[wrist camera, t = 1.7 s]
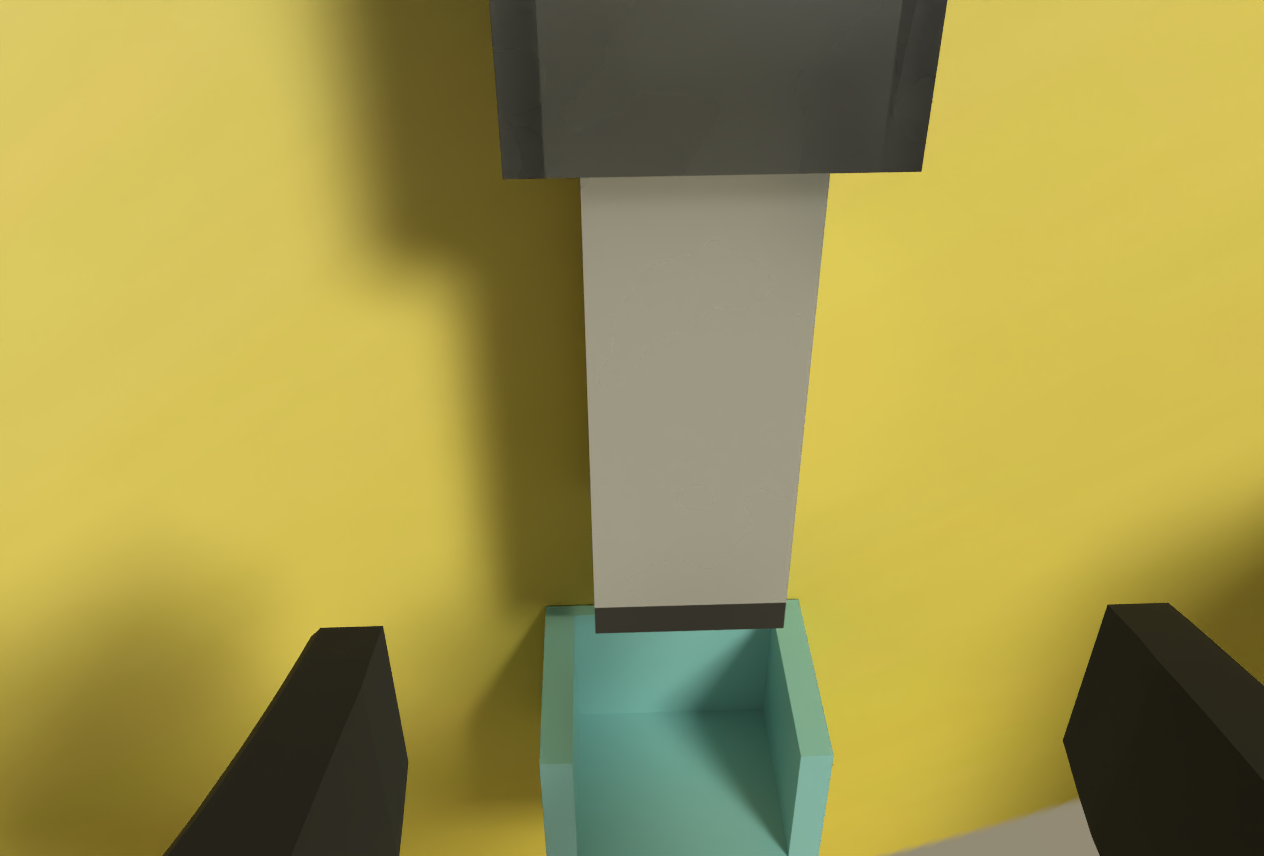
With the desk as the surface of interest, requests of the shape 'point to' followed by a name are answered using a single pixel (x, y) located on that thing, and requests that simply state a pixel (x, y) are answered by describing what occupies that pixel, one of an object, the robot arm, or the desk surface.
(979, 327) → the desk surface
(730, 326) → the long grey plank
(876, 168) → the sleeve
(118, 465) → the desk surface
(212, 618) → the desk surface
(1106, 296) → the desk surface
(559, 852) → the socket
